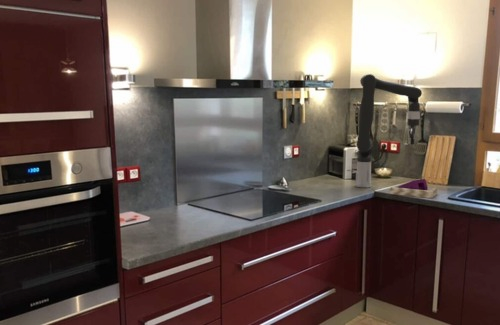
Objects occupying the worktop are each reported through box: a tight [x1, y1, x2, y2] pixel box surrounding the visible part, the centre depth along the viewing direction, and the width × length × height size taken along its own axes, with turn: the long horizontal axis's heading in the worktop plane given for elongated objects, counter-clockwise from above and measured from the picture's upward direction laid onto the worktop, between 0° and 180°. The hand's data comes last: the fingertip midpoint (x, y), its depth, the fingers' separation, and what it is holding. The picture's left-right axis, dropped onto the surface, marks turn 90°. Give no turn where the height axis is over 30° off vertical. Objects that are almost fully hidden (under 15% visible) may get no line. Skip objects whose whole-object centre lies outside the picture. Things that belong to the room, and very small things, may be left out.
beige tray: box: [390, 186, 438, 199], centre depth 281 cm, size 25×14×4 cm, turn 59°
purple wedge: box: [397, 178, 429, 191], centre depth 286 cm, size 9×8×18 cm
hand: (412, 144), depth 299 cm, fingers closed
